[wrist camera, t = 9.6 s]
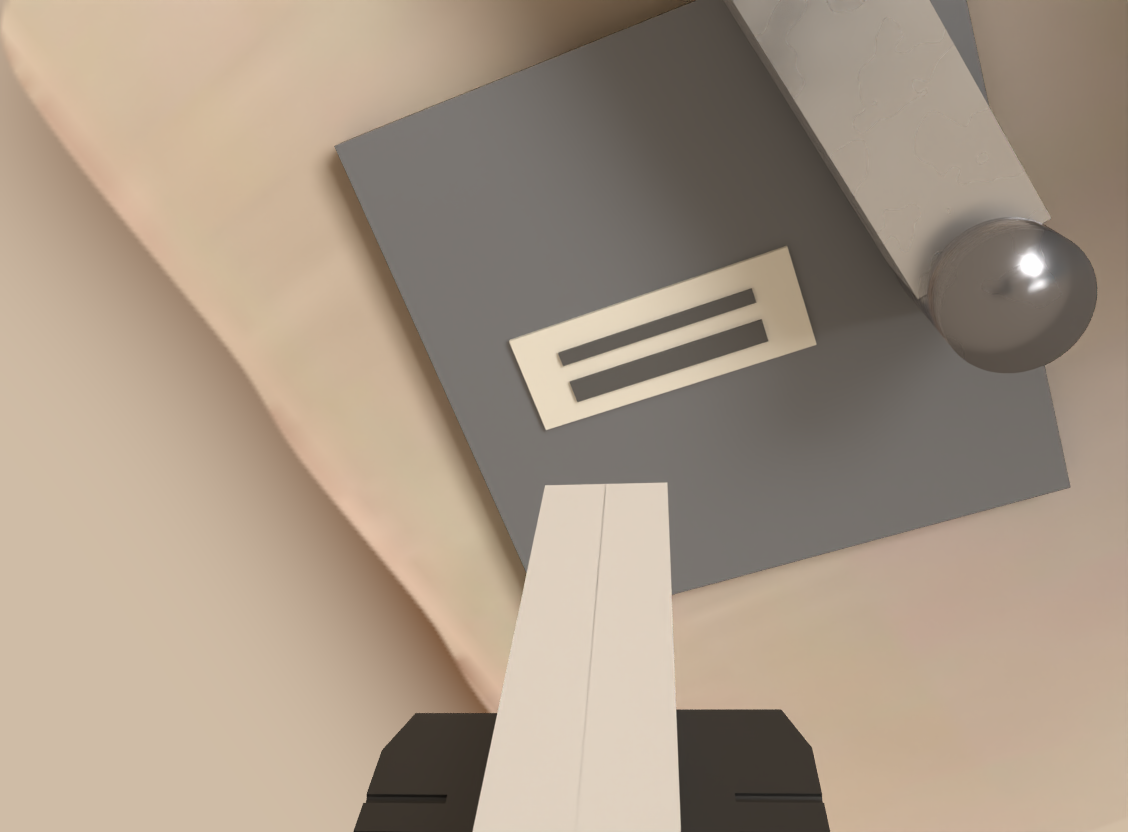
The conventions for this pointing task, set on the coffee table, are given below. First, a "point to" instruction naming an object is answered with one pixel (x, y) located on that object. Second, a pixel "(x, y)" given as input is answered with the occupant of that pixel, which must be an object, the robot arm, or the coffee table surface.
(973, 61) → the panel
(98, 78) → the coffee table surface
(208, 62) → the coffee table surface
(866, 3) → the swing bar
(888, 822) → the coffee table surface
